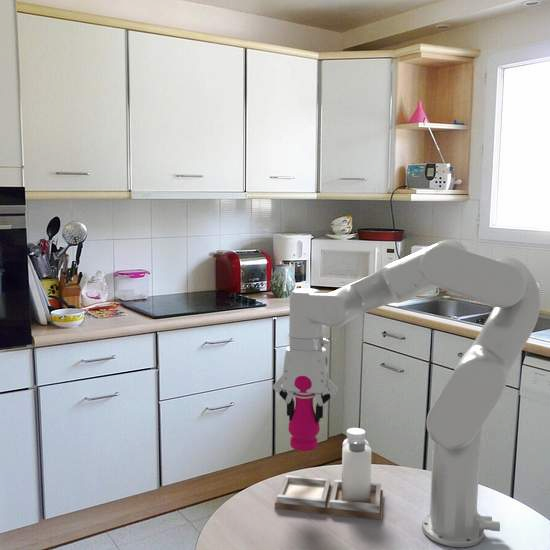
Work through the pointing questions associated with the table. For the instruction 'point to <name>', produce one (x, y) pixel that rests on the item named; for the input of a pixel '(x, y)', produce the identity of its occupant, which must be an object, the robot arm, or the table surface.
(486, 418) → the robot arm
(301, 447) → the pepper mill
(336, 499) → the rail
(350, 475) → the salt shaker
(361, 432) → the supplement bottle
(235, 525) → the table surface
